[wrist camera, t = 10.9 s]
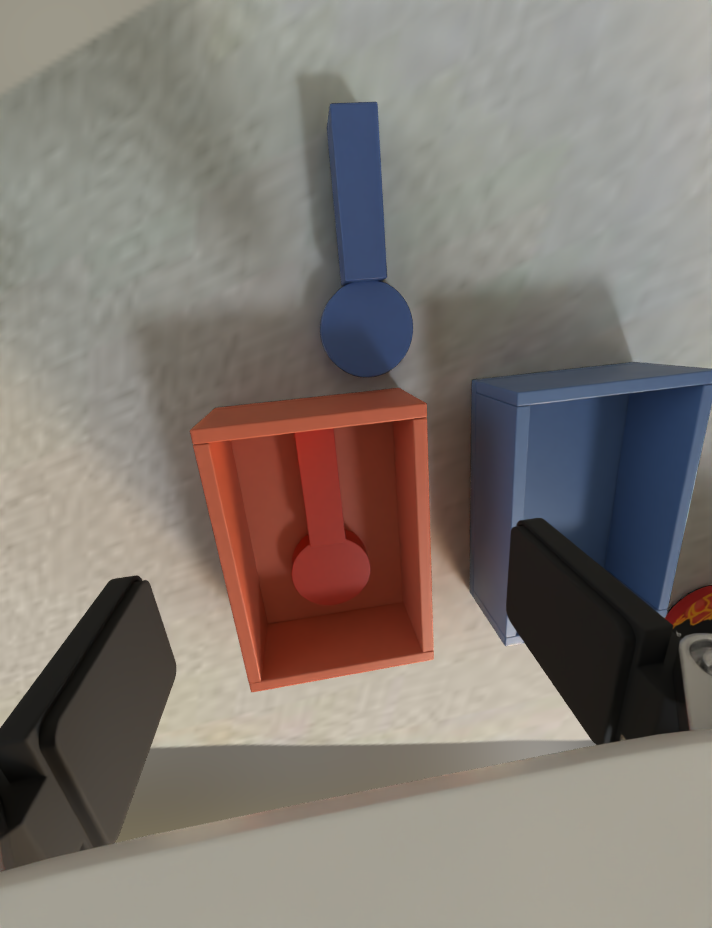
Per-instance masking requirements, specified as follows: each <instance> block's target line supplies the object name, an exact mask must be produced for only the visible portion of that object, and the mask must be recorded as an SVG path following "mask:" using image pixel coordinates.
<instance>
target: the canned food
mask: <svg viewBox="0 0 712 928" xmlns="http://www.w3.org/2000/svg"><path fill="white" fill-rule="evenodd" d="M665 619H666V620H667V621H669V622H670V623H671V624H672V625H673V629H672V631H673V632H674V633H675V634H676V635H677V636H678V637H680V638H681V639H683V638H684V637H685V636H686V635H690V634H694V633H709V634H712V585H711V586H706V587H703V588H701V589H698V590H696V591H694V592H692V593H690V594H688V595H687V596H685V597H684V598H683V599H681V600H680V601H679V602H678V603H677V604H676V605H675V606H674V607H673V608H672V609H671V610H670V611H669V612H668V614H667V615H666V617H665Z"/></svg>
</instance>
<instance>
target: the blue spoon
mask: <svg viewBox="0 0 712 928" xmlns="http://www.w3.org/2000/svg"><path fill="white" fill-rule="evenodd" d="M327 136H328V147H329V158H330V169H331V180H332V190H333V201H334V212H335V223H336V234H337V245H338V256H339V267H340V278H341V285H342V286H343V287H342V288H340V289H339V290H338V291H337V292H336V293H335V294H334V295H333V296H332V297H331V299H330V300H329V301H328V303H327V304H326V306H325V308H324V311H323V314H322V317H321V322H320V335H321V341H322V344H323V347H324V349H325V351H326V353H327V355H328V356H329V358H330V359H331V360H332V361H333V362H334V363H335V364H336V365H337V366H338V367H339V368H341V369H342V370H343V371H345V372H347V373H349V374H351V375H354V376H358V377H375V376H379V375H382V374H384V373H387V372H388V371H390V370H392V369H393V368H394V367H395V366H397V365H398V364H399V363H400V362H401V360H402V359H403V358H404V356H405V355H406V353H407V351H408V349H409V346H410V344H411V340H412V334H413V322H412V316H411V312H410V309H409V307H408V305H407V303H406V301H405V300H404V298H403V297H402V296H401V294H400V293H399V292H398V291H397V290H395V289H394V288H393V287H391V286H390V285H388V284H386V283H384V282H382V280H384V279H386V278H387V266H386V248H385V230H384V212H383V194H382V176H381V158H380V140H379V122H378V105H377V102H358V103H331V104H330V107H329V115H328V123H327Z"/></svg>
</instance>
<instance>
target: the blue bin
mask: <svg viewBox="0 0 712 928" xmlns="http://www.w3.org/2000/svg"><path fill="white" fill-rule="evenodd" d="M711 405H712V369H708V368H697V367H685V366H674V365H663V364H651V363H640V362H629V363H620V364H611V365H602V366H593V367H584V368H574V369H565V370H556V371H547V372H538V373H529V374H520V375H511V376H501V377H492V378H483V379H474V380H472V405H471V504H470V593H471V595H472V596H473V597H474V599H475V601H476V602H477V604H478V605H479V607H480V608H481V610H482V611H483V613H484V615H485V616H486V618H487V619H488V621H489V622H490V624H491V625H492V627H493V628H494V630H495V631H496V633H497V634H498V636H499V638H500V639H501V641H502V642H503V644H504V645H505V646H511V645H516V644H522V643H524V641H523V640H522V638H521V637H520V636H519V634H518V633H517V631H516V630H515V628H514V627H513V625H512V624H511V622H510V621H509V619H508V616H507V612H506V598H507V583H508V567H509V552H510V536H511V529H512V528H513V527H516V524H517V522H518V521H520V520H526V519H533V518H543V519H544V520H546V521H547V522H548V523H549V524H550V525H552V526H553V527H554V528H555V529H557V530H558V531H559V532H560V533H561V534H563V535H564V536H565V537H566V538H567V539H569V540H570V541H571V542H572V543H574V544H575V545H576V546H577V547H578V548H580V549H581V550H582V551H583V552H585V553H586V554H587V555H588V556H589V557H591V558H592V559H593V560H594V561H595V562H597V563H598V564H599V565H600V566H602V567H603V568H604V569H605V570H606V571H608V572H609V573H610V574H611V575H613V576H614V577H615V578H616V579H617V580H619V581H620V582H621V583H622V584H624V585H625V586H626V587H627V588H628V589H630V590H631V591H632V592H633V593H634V594H636V595H637V596H638V597H639V598H641V599H642V600H643V601H644V602H645V603H647V604H648V605H649V606H650V607H652V608H653V609H654V610H655V611H656V612H658V613H659V614H660V615H661V616H662V617H664V618H665V617H666V615H667V608H668V605H669V601H670V596H671V591H672V587H673V582H674V577H675V573H676V568H677V563H678V559H679V554H680V549H681V545H682V540H683V535H684V531H685V526H686V521H687V517H688V512H689V507H690V503H691V498H692V493H693V489H694V484H695V480H696V475H697V470H698V466H699V461H700V456H701V452H702V447H703V442H704V438H705V433H706V428H707V424H708V419H709V414H710V410H711Z"/></svg>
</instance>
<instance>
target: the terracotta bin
mask: <svg viewBox="0 0 712 928" xmlns="http://www.w3.org/2000/svg"><path fill="white" fill-rule="evenodd" d="M426 417H427V404H426V403H425V402H423V401H421V400H420V399H418V398H416V397H414V396H413V395H411V394H409V393H407V392H405V391H404V390H402V389H401V388H391V389H382V390H373V391H364V392H355V393H346V394H337V395H327V396H318V397H309V398H300V399H291V400H282V401H273V402H264V403H254V404H245V405H236V406H227V407H218V408H214V409H213V410H212V411H211V412H210V413H209V414H208V415H207V416H205V417H204V418H203V419H202V420H201V421H200V422H199V423H197V424H196V425H195V426H194V427H193V428H192V429H191V430H190V434H191V439H192V443H193V444H194V445H193V448H194V452H195V456H196V460H197V465H198V469H199V473H200V477H201V482H202V486H203V490H204V494H205V499H206V503H207V507H208V511H209V516H210V520H211V524H212V528H213V533H214V537H215V541H216V545H217V550H218V554H219V558H220V562H221V567H222V571H223V575H224V579H225V584H226V588H227V592H228V596H229V601H230V605H231V609H232V613H233V618H234V622H235V626H236V630H237V635H238V639H239V643H240V647H241V652H242V656H243V660H244V664H245V669H246V673H247V677H248V681H249V685H250V689H251V692H257V691H262V690H268V689H273V688H279V687H284V686H290V685H295V684H301V683H306V682H312V681H317V680H323V679H328V678H334V677H339V676H345V675H351V674H356V673H362V672H367V671H373V670H378V669H384V668H389V667H395V666H400V665H406V664H411V663H417V662H422V661H428V660H433V659H434V651H433V615H432V579H431V544H430V508H429V473H428V437H427V418H426ZM331 428H334V434H335V443H336V453H337V462H338V472H339V481H340V490H341V500H342V509H343V519H344V528H345V529H346V530H349V531H351V532H352V533H354V534H355V535H357V536H358V537H359V538H360V539H361V541H362V542H363V544H364V546H365V548H366V551H367V554H368V558H369V561H370V576H369V580H368V582H367V584H366V586H365V587H364V589H363V590H362V591H361V592H360V593H359V594H358V595H357V596H355V597H354V598H353V599H351V600H349V601H347V602H344V603H341V604H337V605H320V604H316V603H313V602H310V601H308V600H307V599H305V598H304V597H303V596H301V595H300V594H299V592H298V591H297V590H296V588H295V586H294V584H293V581H292V574H291V572H292V556H293V552H294V550H295V548H296V546H297V544H298V543H299V542H300V541H301V540H302V539H303V538H304V537H305V536H306V535H307V534H308V528H307V521H306V514H305V507H304V500H303V493H302V486H301V479H300V472H299V465H298V458H297V451H296V444H295V437H294V433H297V432H305V431H314V430H322V429H331Z"/></svg>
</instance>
